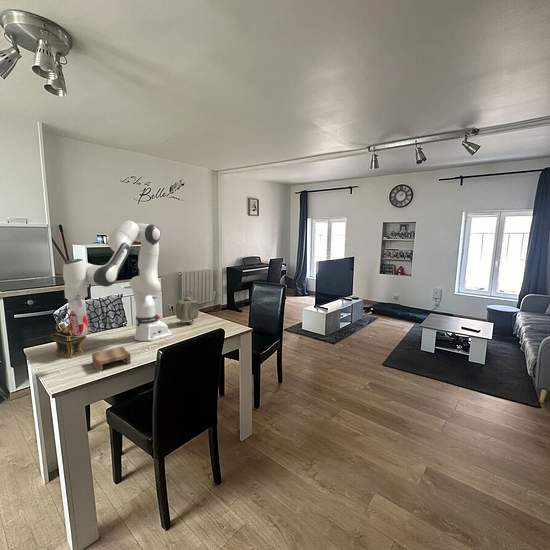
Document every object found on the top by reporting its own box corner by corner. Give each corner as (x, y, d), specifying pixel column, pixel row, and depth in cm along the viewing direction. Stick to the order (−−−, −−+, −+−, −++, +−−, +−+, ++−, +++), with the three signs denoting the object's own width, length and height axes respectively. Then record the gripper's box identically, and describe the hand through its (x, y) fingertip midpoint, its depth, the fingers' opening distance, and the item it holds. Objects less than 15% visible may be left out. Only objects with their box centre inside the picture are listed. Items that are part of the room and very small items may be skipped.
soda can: (91, 334, 138) (87, 311, 136) (73, 339, 133) (69, 314, 131) (87, 331, 143) (83, 308, 141) (70, 335, 138) (66, 311, 136)
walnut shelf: (122, 355, 154) (122, 346, 153) (130, 363, 145) (130, 354, 144) (92, 362, 144) (92, 353, 144) (99, 372, 135) (98, 361, 134)
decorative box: (88, 353, 156) (86, 318, 153) (69, 360, 147) (67, 323, 144) (66, 346, 164) (63, 313, 161) (47, 352, 155) (44, 317, 153)
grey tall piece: (193, 320, 220) (193, 288, 216) (199, 323, 214) (199, 290, 210) (175, 324, 209) (175, 291, 206) (182, 327, 203) (181, 293, 200)
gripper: (89, 296, 129) (91, 325, 131) (80, 289, 144) (82, 316, 146) (72, 298, 125) (74, 328, 127) (64, 291, 140) (66, 318, 142)
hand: (78, 322), depth 137 cm, fingers closed on soda can, 7 cm apart
